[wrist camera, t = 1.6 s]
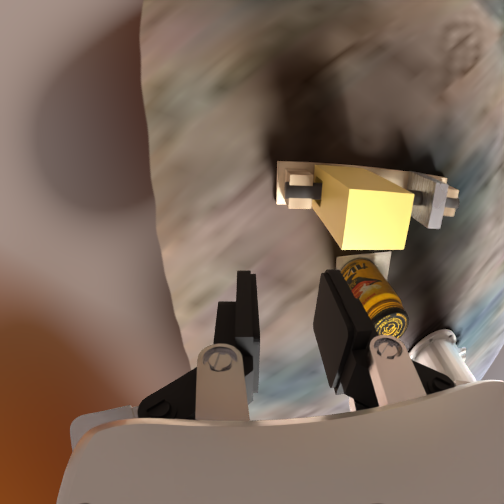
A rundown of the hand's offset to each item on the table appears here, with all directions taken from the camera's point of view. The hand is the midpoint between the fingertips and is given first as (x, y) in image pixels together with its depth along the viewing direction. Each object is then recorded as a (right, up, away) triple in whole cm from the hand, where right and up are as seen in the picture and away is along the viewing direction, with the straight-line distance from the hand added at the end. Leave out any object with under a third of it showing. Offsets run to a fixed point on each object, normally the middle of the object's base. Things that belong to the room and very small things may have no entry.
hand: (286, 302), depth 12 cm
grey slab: (+19, +10, +21) cm, 31 cm away
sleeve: (+8, +10, +20) cm, 23 cm away
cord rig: (+13, +10, +21) cm, 27 cm away
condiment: (+14, -1, +27) cm, 31 cm away
